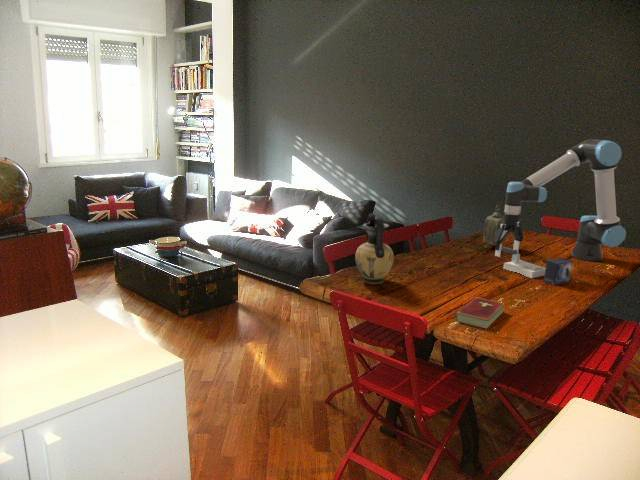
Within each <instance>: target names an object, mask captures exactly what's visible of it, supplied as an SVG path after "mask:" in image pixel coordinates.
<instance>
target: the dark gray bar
mask: <svg viewBox="0 0 640 480" xmlns="http://www.w3.org/2000/svg"><path fill="white" fill-rule="evenodd" d="M501 252H503V253H507V254H510V255H511V260H510V262H513V263H514V264H515V265H518V266H521V267H525V268H528V269H531V270H534V271H536V270H541V269H543V267H544V266H540V265H537V264H535V263H531V262H527V261H525V260H522V261H519V260H521V254H520V253H519V252H518V253H517V250H515V249H513V248H511V247H508V246H507V247H506V246H504V245H502V246H501Z"/></svg>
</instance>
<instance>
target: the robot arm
mask: <svg viewBox="0 0 640 480" xmlns="http://www.w3.org/2000/svg"><path fill="white" fill-rule="evenodd" d="M621 158H622V149H621V147H620V145H619V144H618V143H616V142H614V141H611V140H607V139H596V138H591V139H587V140H584V141H582V142H579V143H577V144H576V145H574V146H573V147H571V148H570V149H567V151H566V153H565V154H563V155H562V156H560V157H559V158H557V159H555V160H554V161H552V162H551V163H549V164H548V165H546V166H544V167H543V168H541V169H539V170H537V171H536V172H535V173H533V174H531V175H529V176H528V177H526V178H525V179H523V180H521V181H509V182H508V183H507V187H506V195H505V203H504V210H503V212H504V213H503V215H502V217H503V220H504V221H505V222H504V224H501V223H500V224H499V229H498V231H497V233H496V235H495V237H494V240H493V242H494V244H495V249H494V250H495V252H494V257H498V258H501V252H502V251H501V246H503V244H502V241H503V239H504V238H505V236H506V237H507V235H506V234H509V233H512V235H513V237H514V239H515V240H514V241H513V246H512V247H513V248H512V249H515V250H517V253H518V254H519V249H520V245H521V244H520V243H521V242H523V240H524V233H523V227H522V222H521V221H520V215H521V212H522V211H521V210H522V203H523V202H524V203H543V202H544V201H546V199H547V196H548V191H547V188H545V187H543V186H544V185H546V184H547V183H549V182H550V181H552V180H554V179H555V178H557V177H558V176H559V177H560V175H562V174H564V173H565V172H567V171H568V170H570V169H572V168H574V167H579V166H581V165H583V164H585V163H589V166H590V168H589V169H590V170H591V171H593V175H594V187H595V188H594V189H595V205H596V215H582V216H581V217H580V221H579V227H578V233H577V234H578V235H577V240H576V243H575V245H574V247H573V248H572V250H571V253H570V254H571V257H573V258H575V259H579V260H581V261H582V260H583V261H589V262H599V261H602V260H603V257H604V256H603V251H602V245H603V246H605V247H608V248H615V247H618V246H619V245H621V244H622V242H624V240H626V235H627V230H626V229H625V228H624V227H623V226H622V225H621V219H620V217H619V216H617V204H616V202H617V201H616V188H615V187H616V185H615V169H617V167H618V163H619V161H620V160H621ZM503 242H504V241H503Z"/></svg>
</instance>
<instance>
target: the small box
mask: <svg viewBox="0 0 640 480" xmlns="http://www.w3.org/2000/svg"><path fill="white" fill-rule="evenodd" d="M573 263H574V262H573V260H570V259H566V258H564V257H559V258H551V259H547V260H546V263H545V268H546V269H545V275H544V277H543V282H546V283H547V284H551V285H553V286H556V285H557V286H558V285H562V284H569V283H570V280H571V274H572V269H573Z"/></svg>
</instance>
